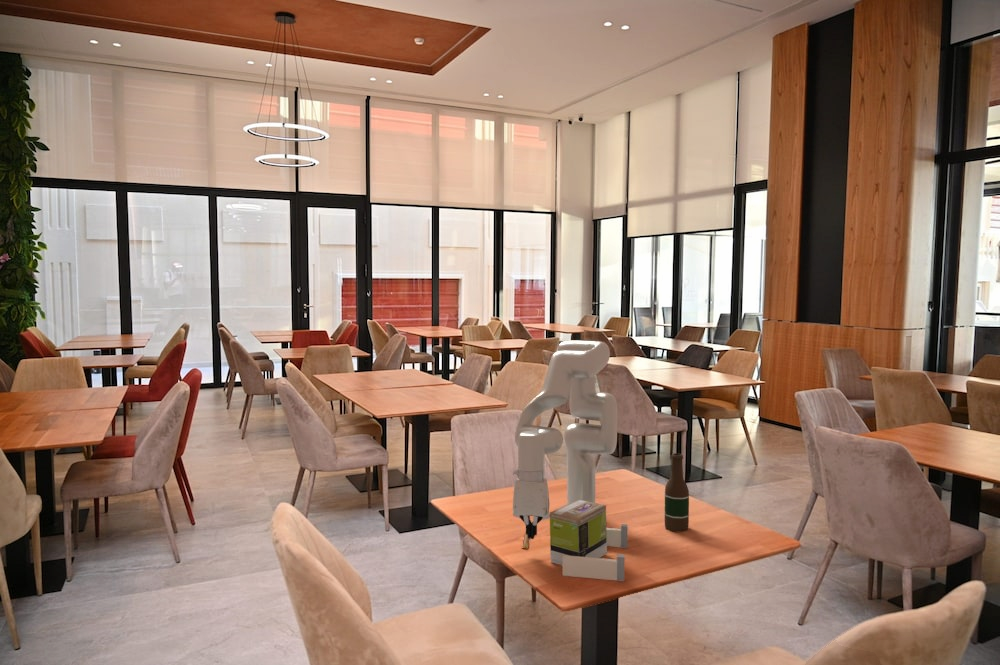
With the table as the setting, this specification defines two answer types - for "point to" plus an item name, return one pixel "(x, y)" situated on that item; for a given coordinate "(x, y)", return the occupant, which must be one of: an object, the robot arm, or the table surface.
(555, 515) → the tea box
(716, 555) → the table surface
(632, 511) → the table surface
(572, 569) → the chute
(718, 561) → the table surface
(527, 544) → the chocolate bar
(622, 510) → the table surface
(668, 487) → the beer bottle
